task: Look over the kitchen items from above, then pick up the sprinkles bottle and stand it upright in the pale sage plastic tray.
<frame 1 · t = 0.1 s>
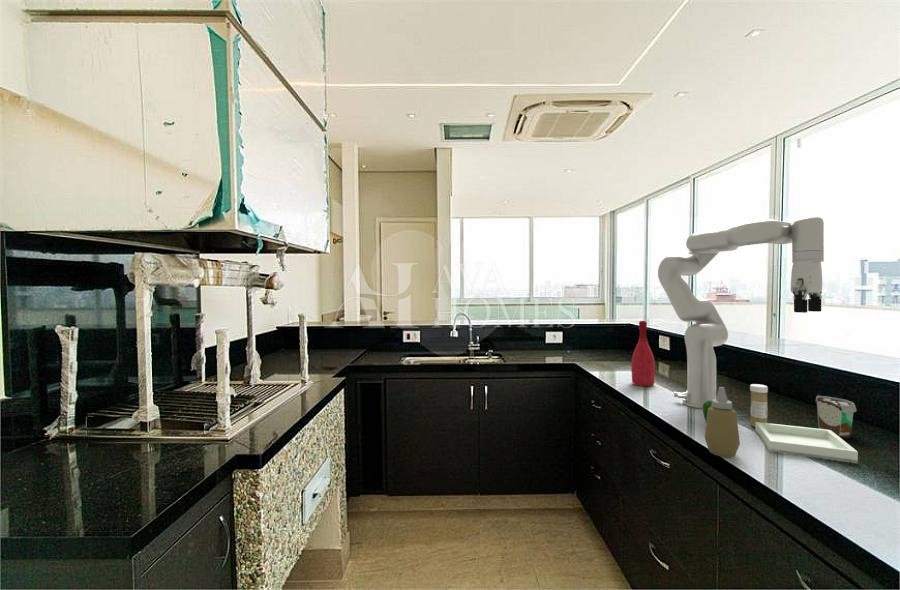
hand: (807, 311, 129), 37 cm above the counter, tool pointing down, fingers open, 9 cm apart
food container: (840, 433, 127), on the counter
squeeze bottle: (721, 454, 112), on the counter
tray: (801, 445, 117), on the counter
bell pepper: (718, 428, 132), on the counter
wine bottle: (643, 384, 194), on the counter
sprinkles bottle: (758, 427, 133), on the counter
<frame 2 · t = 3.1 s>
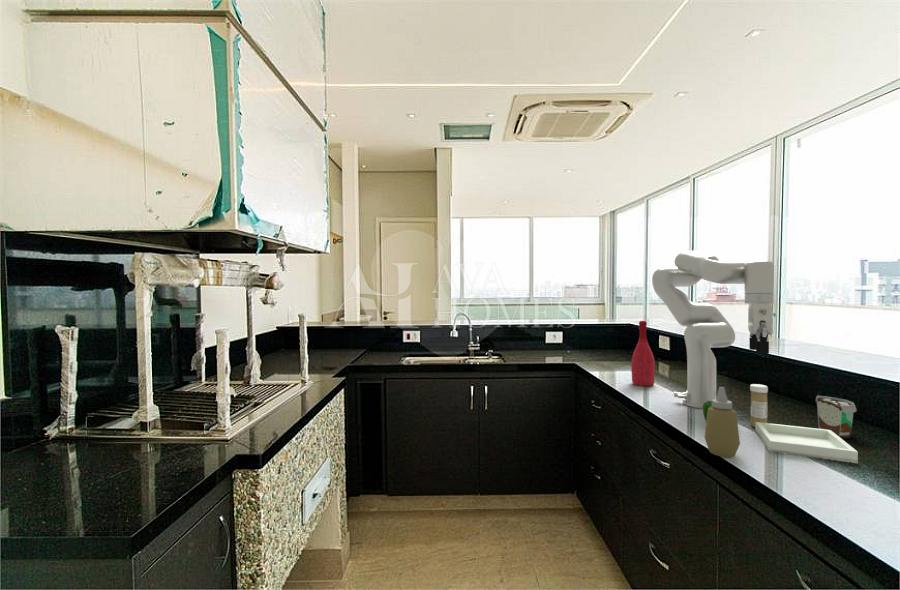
hand: (758, 351, 133), 24 cm above the counter, tool pointing down, fingers open, 9 cm apart
nothing on the counter moved.
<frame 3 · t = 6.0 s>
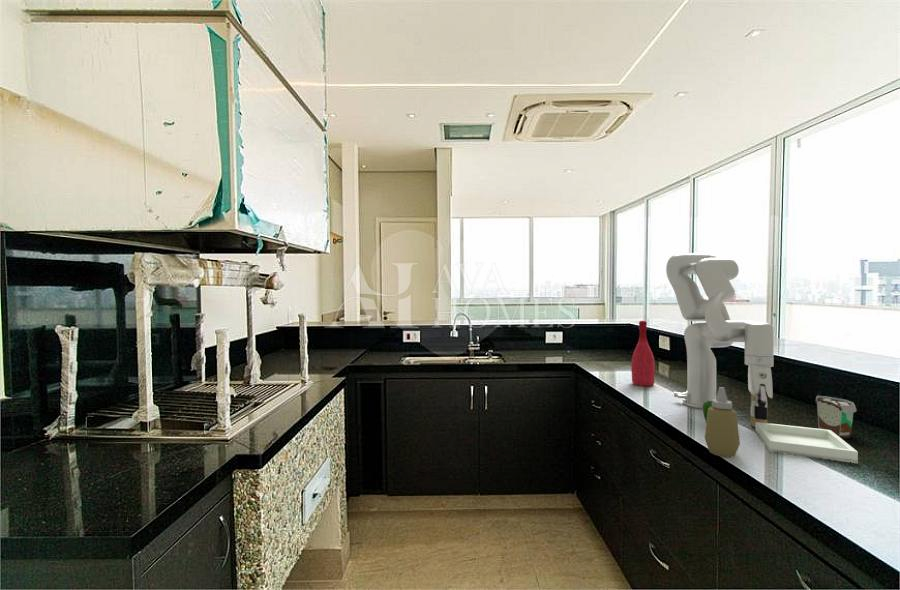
hand: (758, 416, 133), 3 cm above the counter, tool pointing down, fingers closed on sprinkles bottle, 4 cm apart
sprinkles bottle: (758, 427, 133), on the counter, touching gripper
everything else where it was.
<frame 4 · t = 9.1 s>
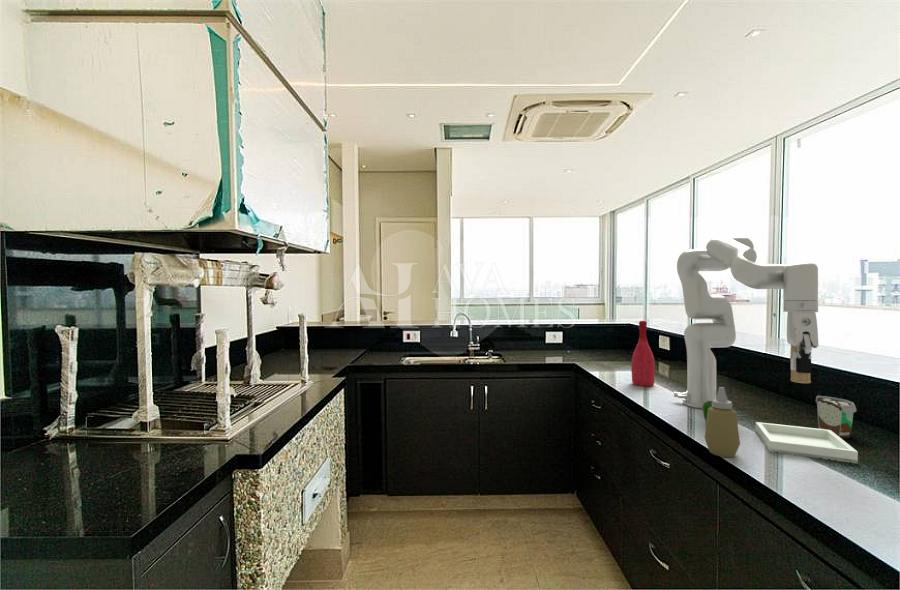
hand: (800, 370, 117), 21 cm above the counter, tool pointing down, fingers closed on sprinkles bottle, 4 cm apart
sprinkles bottle: (800, 382, 117), point 18 cm above the counter, touching gripper
everything else where it was.
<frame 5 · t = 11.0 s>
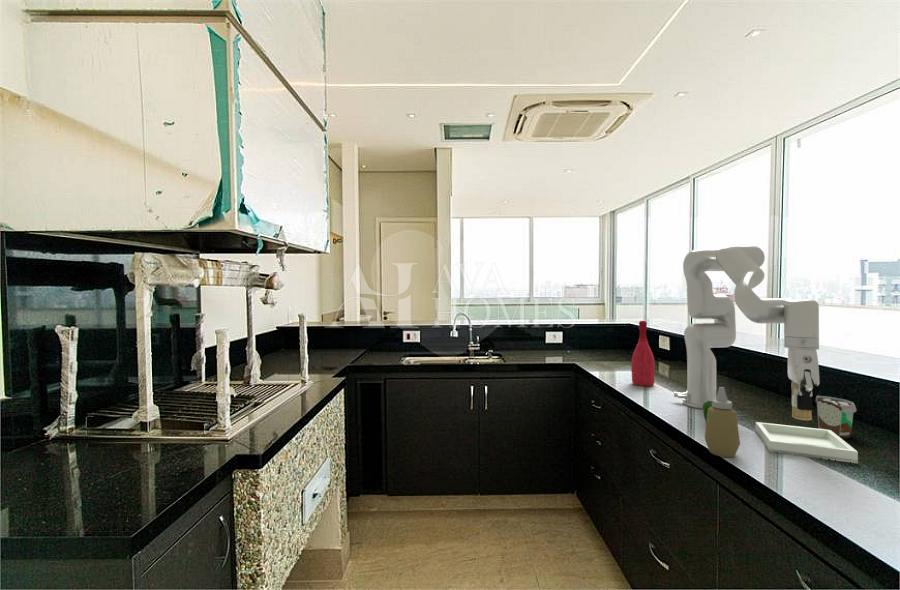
hand: (801, 406, 117), 11 cm above the counter, tool pointing down, fingers closed on sprinkles bottle, 4 cm apart
sprinkles bottle: (801, 419, 117), point 8 cm above the counter, touching gripper
everything else where it was.
when the fingers open (5 cm above the counter, at t = 12.5 s): sprinkles bottle drops 1 cm, resting on tray.
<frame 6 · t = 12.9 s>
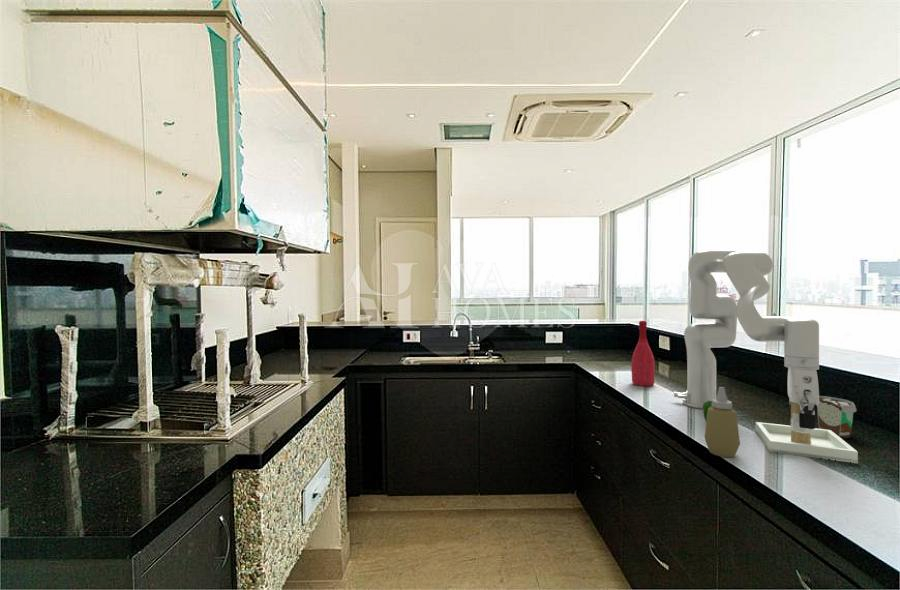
hand: (801, 422, 117), 6 cm above the counter, tool pointing down, fingers open, 9 cm apart
sprinkles bottle: (800, 443, 117), point 1 cm above the counter, touching tray
everything else where it was.
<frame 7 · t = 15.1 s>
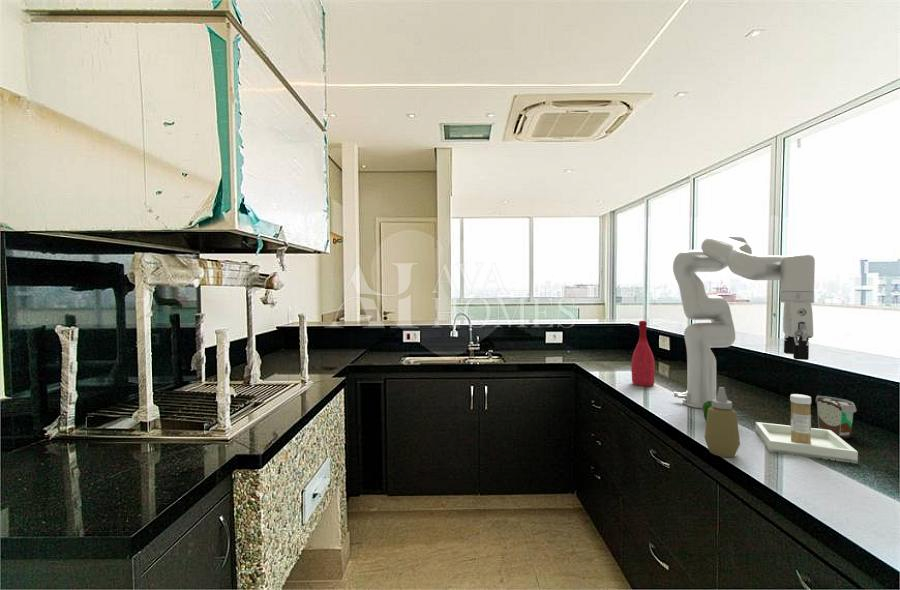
hand: (795, 356, 120), 25 cm above the counter, tool pointing down, fingers open, 9 cm apart
nothing on the counter moved.
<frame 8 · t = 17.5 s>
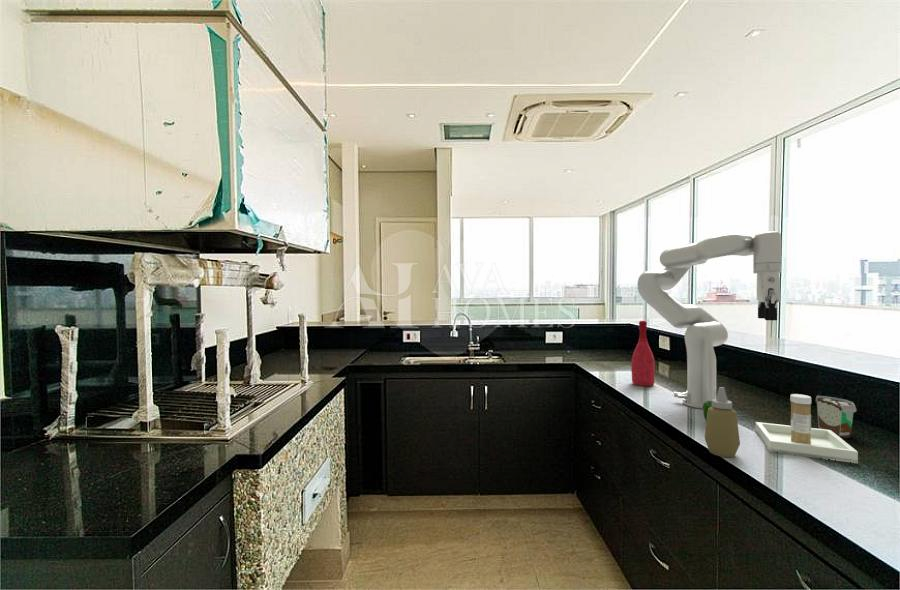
hand: (767, 319, 139), 34 cm above the counter, tool pointing down, fingers open, 9 cm apart
nothing on the counter moved.
at the end: sprinkles bottle inside the target area on the tray (0.2 cm from its centre), point 0.6 cm above the tray's base; sprinkles bottle tilted 0°; the gripper is holding nothing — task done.
